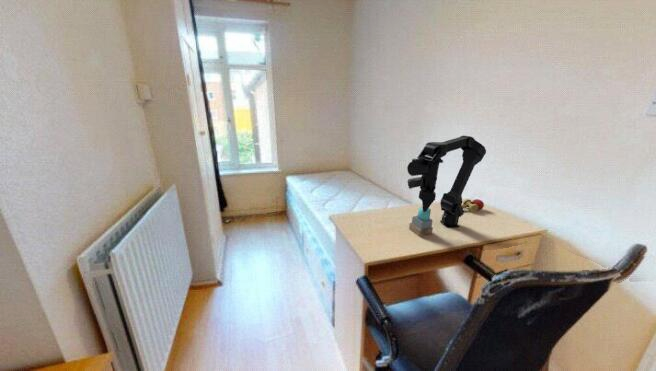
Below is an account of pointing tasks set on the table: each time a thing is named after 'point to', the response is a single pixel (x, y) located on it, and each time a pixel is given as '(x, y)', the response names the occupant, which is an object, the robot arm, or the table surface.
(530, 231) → the table surface
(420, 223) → the upper block
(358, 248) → the table surface
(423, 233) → the lower block
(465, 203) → the kendama
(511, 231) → the table surface
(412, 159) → the robot arm
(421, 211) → the teal rounded dome
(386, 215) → the table surface
